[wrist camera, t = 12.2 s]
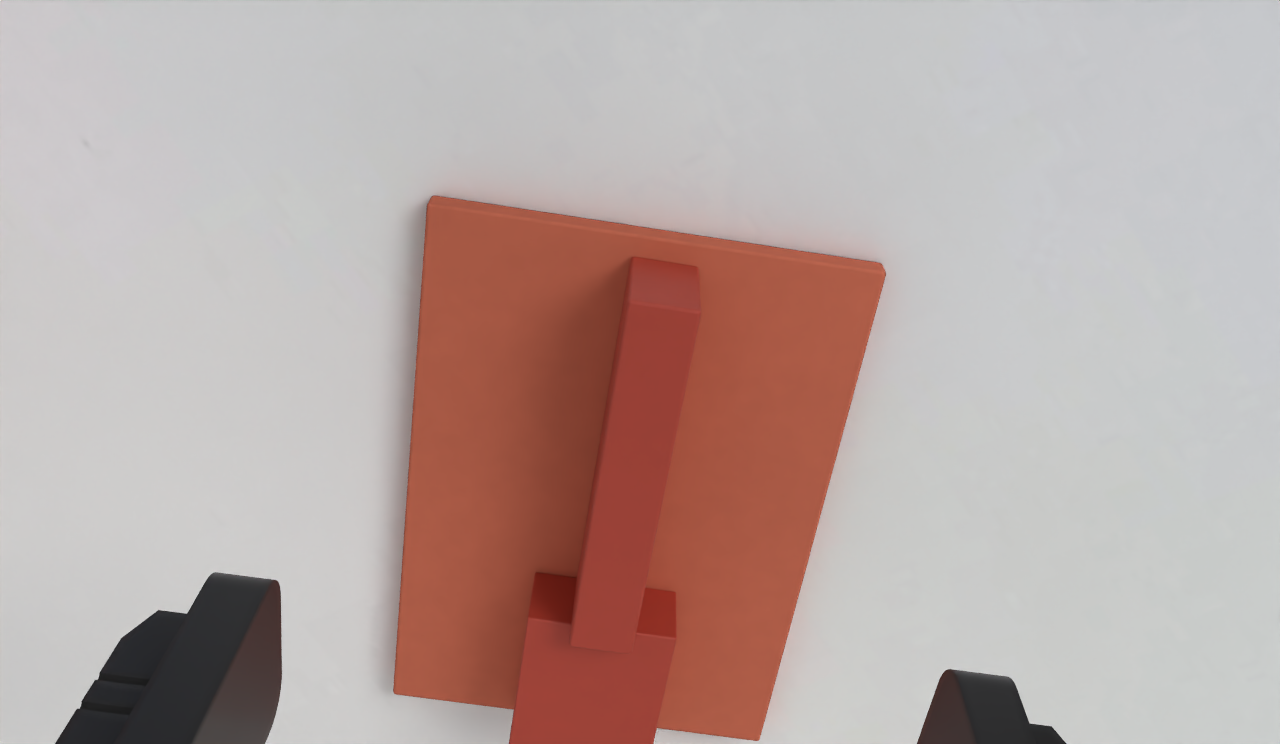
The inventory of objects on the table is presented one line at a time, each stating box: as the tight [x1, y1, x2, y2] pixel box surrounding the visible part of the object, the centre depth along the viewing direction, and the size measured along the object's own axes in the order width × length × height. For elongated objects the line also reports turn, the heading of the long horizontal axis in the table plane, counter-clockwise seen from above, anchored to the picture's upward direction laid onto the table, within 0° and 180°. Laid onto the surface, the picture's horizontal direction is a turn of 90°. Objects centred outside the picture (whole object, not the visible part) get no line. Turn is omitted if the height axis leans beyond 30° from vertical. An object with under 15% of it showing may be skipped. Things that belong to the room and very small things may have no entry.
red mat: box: [393, 196, 886, 741], centre depth 28 cm, size 14×10×1 cm
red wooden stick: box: [509, 257, 701, 744], centre depth 27 cm, size 13×4×2 cm, turn 171°
